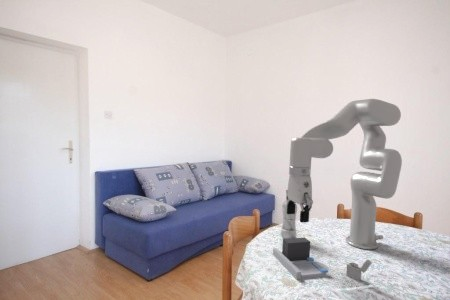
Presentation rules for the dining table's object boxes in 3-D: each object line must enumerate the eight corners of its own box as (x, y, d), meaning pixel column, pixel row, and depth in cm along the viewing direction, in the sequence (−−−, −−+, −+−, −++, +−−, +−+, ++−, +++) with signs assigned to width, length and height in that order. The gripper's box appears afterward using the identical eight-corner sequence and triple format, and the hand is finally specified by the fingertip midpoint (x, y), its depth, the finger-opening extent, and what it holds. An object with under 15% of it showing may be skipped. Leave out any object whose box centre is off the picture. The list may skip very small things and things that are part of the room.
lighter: (345, 277, 88) (347, 253, 87) (348, 275, 89) (349, 252, 88) (368, 287, 82) (370, 262, 82) (370, 285, 83) (372, 260, 83)
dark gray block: (303, 255, 102) (304, 237, 101) (309, 260, 98) (310, 241, 97) (282, 257, 100) (282, 238, 99) (287, 262, 96) (287, 243, 95)
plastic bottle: (296, 242, 115) (298, 197, 114) (280, 241, 116) (282, 196, 115) (295, 237, 121) (297, 194, 120) (280, 235, 123) (282, 193, 122)
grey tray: (301, 253, 104) (301, 246, 104) (329, 277, 87) (330, 268, 87) (272, 256, 102) (273, 248, 101) (296, 281, 84) (296, 272, 84)
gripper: (323, 175, 89) (320, 225, 90) (297, 168, 106) (294, 210, 107) (303, 175, 88) (300, 226, 88) (279, 168, 104) (277, 211, 105)
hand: (297, 217), depth 98 cm, fingers open, 9 cm apart
